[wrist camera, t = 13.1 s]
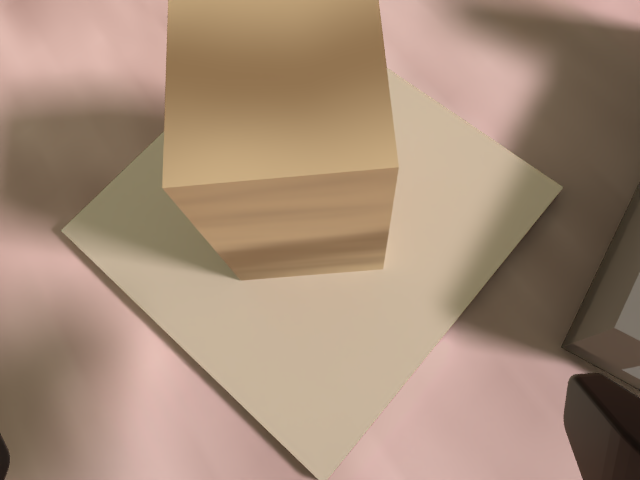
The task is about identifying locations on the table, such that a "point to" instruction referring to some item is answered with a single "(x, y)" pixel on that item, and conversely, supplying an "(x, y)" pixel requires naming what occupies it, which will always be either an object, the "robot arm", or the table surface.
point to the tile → (325, 280)
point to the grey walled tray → (613, 306)
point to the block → (281, 133)
